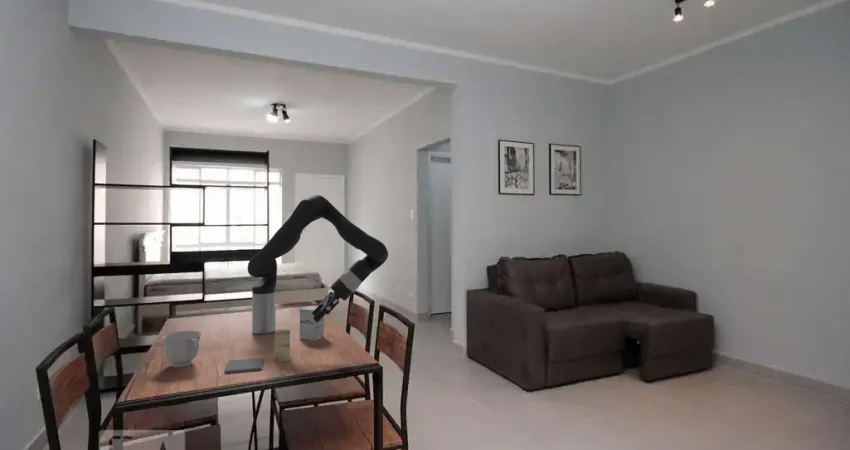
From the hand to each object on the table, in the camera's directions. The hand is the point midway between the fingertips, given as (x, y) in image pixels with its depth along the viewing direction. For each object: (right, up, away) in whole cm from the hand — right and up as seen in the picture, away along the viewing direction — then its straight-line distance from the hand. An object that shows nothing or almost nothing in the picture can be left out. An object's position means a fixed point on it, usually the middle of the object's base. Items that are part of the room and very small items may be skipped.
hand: (314, 317), depth 158 cm
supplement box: (-7, -14, +25) cm, 29 cm away
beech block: (-10, -14, -3) cm, 18 cm away
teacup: (-41, -14, -11) cm, 44 cm away
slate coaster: (-20, -14, -11) cm, 27 cm away
